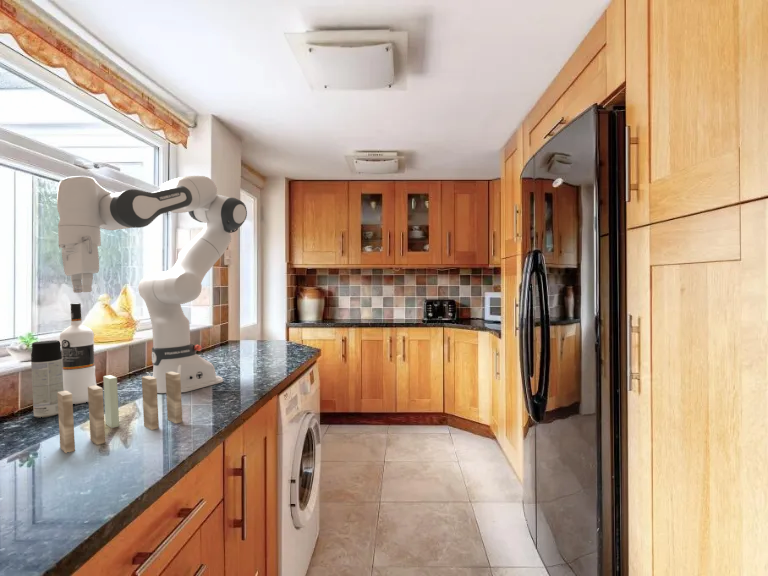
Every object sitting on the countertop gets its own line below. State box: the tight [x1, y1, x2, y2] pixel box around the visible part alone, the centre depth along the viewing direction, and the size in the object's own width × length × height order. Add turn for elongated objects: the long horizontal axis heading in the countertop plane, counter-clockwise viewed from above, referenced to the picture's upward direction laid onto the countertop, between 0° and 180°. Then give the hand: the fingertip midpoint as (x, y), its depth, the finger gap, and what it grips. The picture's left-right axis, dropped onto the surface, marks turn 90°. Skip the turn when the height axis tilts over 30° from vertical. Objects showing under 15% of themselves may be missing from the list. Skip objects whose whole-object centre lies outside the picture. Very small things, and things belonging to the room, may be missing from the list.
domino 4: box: [141, 375, 160, 431], centre depth 101 cm, size 2×5×12 cm, turn 48°
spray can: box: [30, 339, 64, 418], centre depth 115 cm, size 7×7×20 cm
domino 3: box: [102, 374, 120, 429], centre depth 104 cm, size 2×5×12 cm, turn 48°
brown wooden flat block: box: [88, 384, 106, 446], centre depth 93 cm, size 2×5×12 cm, turn 48°
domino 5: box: [165, 372, 183, 425], centre depth 105 cm, size 2×5×12 cm, turn 48°
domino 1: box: [57, 390, 76, 454], centre depth 89 cm, size 2×5×12 cm, turn 48°
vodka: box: [59, 302, 97, 405], centre depth 128 cm, size 9×9×30 cm
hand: (82, 292), depth 109 cm, fingers open, 8 cm apart
